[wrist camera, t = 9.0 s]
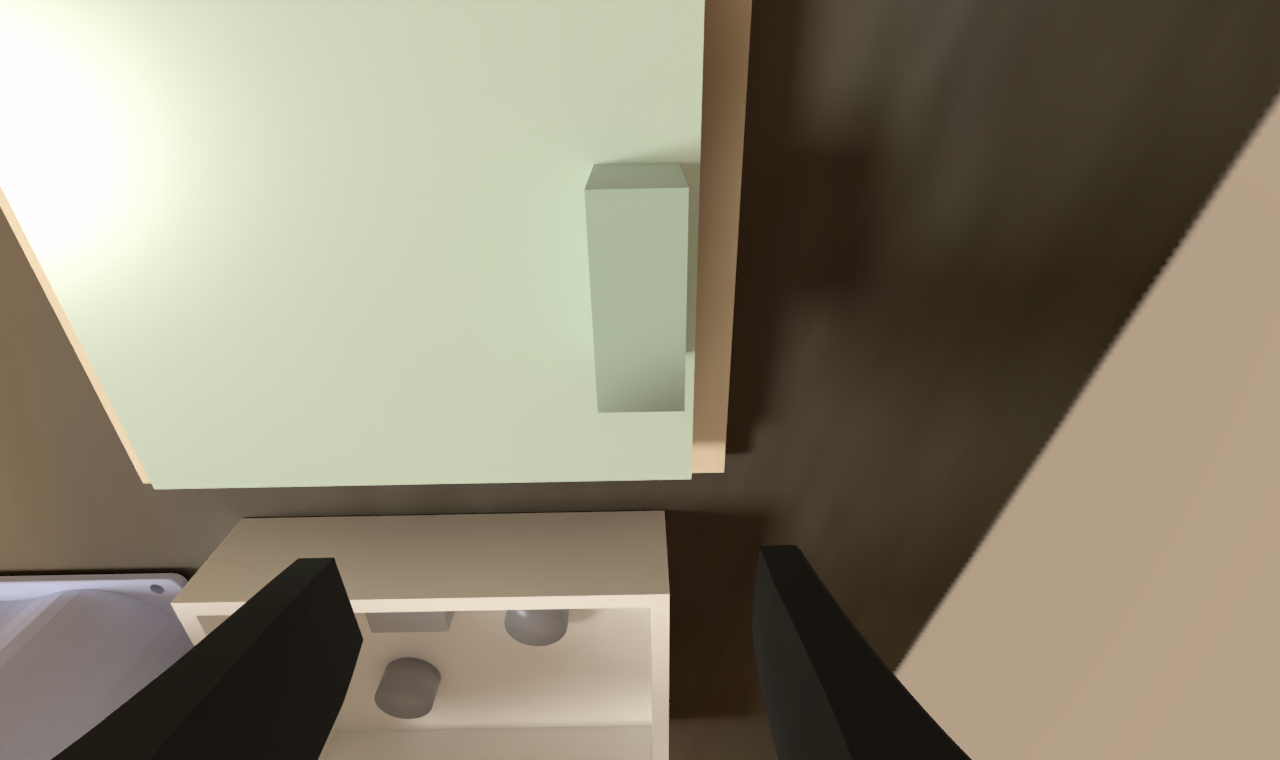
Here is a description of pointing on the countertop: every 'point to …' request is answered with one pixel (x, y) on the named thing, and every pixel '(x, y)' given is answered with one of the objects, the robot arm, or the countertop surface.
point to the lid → (369, 231)
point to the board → (715, 235)
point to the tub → (478, 629)
